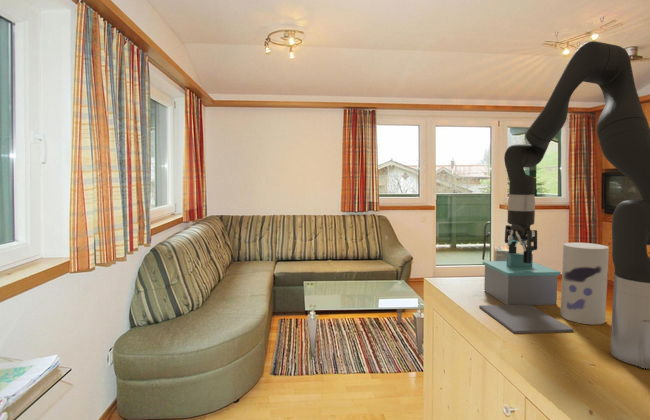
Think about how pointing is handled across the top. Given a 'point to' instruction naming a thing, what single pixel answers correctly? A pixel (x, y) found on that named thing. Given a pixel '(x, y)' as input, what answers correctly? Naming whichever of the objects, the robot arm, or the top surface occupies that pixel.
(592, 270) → the container
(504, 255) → the supplement box
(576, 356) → the top surface
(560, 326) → the mat
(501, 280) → the storage box
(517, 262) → the lid
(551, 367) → the top surface
